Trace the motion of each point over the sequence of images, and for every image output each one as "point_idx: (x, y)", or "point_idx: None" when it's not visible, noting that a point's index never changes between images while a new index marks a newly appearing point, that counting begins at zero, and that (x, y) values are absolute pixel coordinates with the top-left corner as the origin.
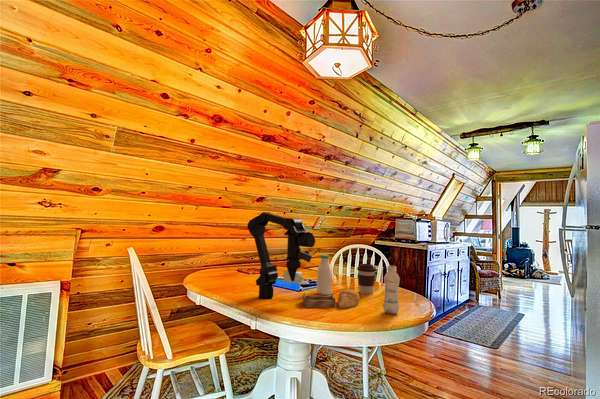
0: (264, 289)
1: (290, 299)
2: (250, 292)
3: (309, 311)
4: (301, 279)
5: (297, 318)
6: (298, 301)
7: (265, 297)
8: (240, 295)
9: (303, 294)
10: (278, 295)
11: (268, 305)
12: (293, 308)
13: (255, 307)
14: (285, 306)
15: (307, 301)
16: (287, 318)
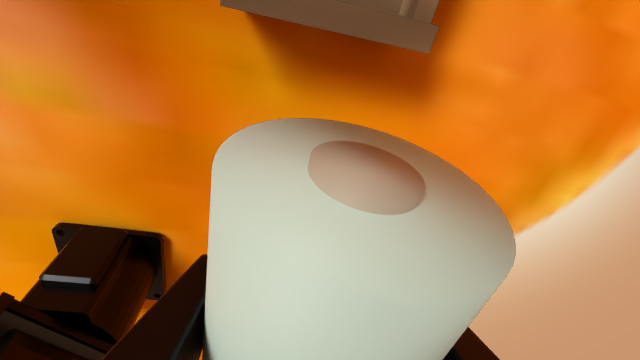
0: (132, 324)
1: (150, 103)
2: None
3: (530, 22)
4: (473, 184)
5: (608, 147)
6: (216, 42)
7: (155, 270)
8: None
9: (278, 18)
10: (28, 178)
11: None
12: (410, 131)
13: None
14: None
15: (430, 7)
16: (572, 197)
